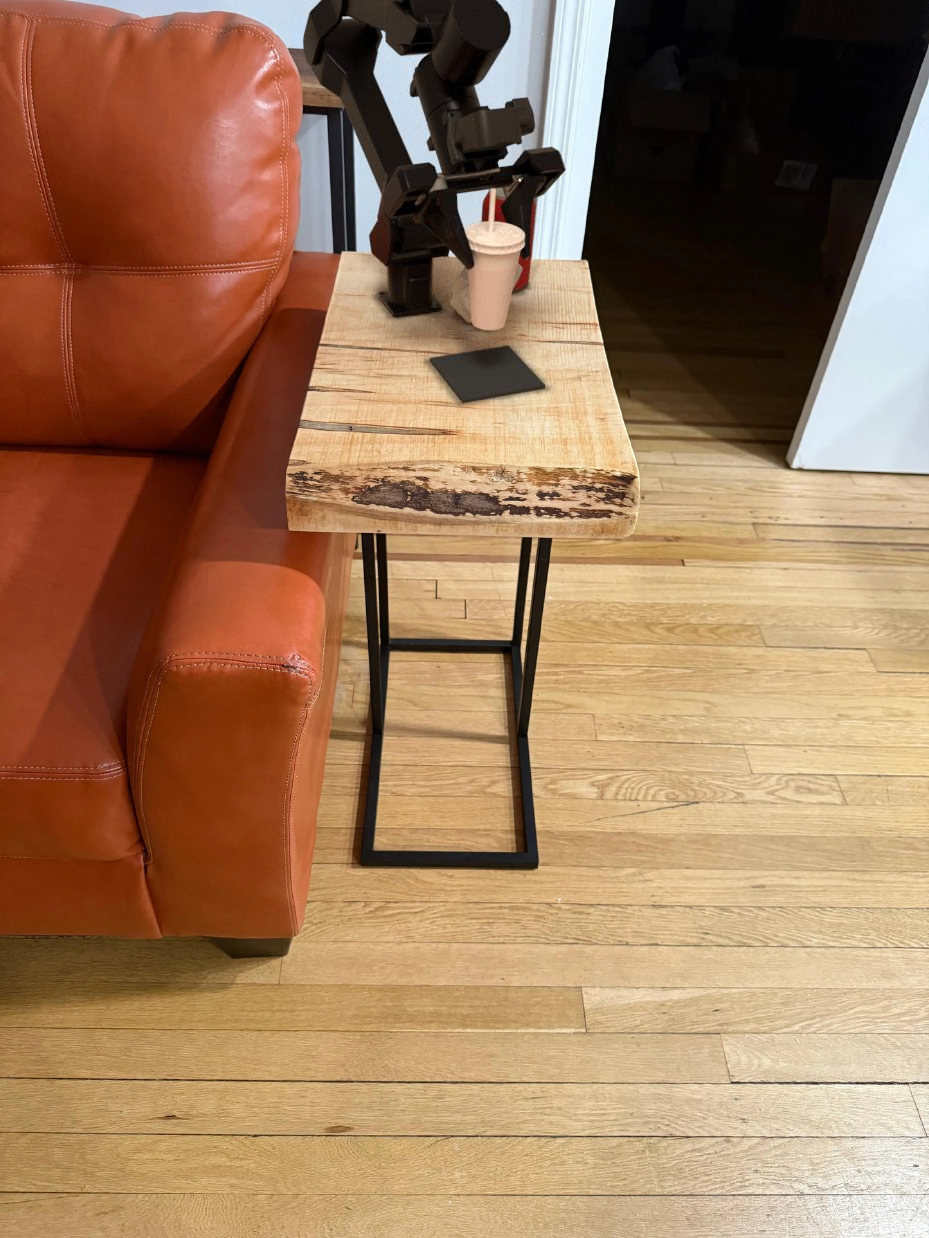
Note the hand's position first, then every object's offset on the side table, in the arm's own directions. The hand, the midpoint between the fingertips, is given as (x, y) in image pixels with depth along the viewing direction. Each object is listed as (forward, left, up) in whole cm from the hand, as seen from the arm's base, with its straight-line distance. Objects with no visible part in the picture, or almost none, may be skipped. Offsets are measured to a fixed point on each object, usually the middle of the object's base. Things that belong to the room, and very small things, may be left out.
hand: (499, 263), depth 94 cm
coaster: (-1, 0, -13) cm, 13 cm away
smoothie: (-1, 0, -7) cm, 7 cm away
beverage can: (-23, +12, -13) cm, 30 cm away
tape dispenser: (-15, +5, -13) cm, 21 cm away
